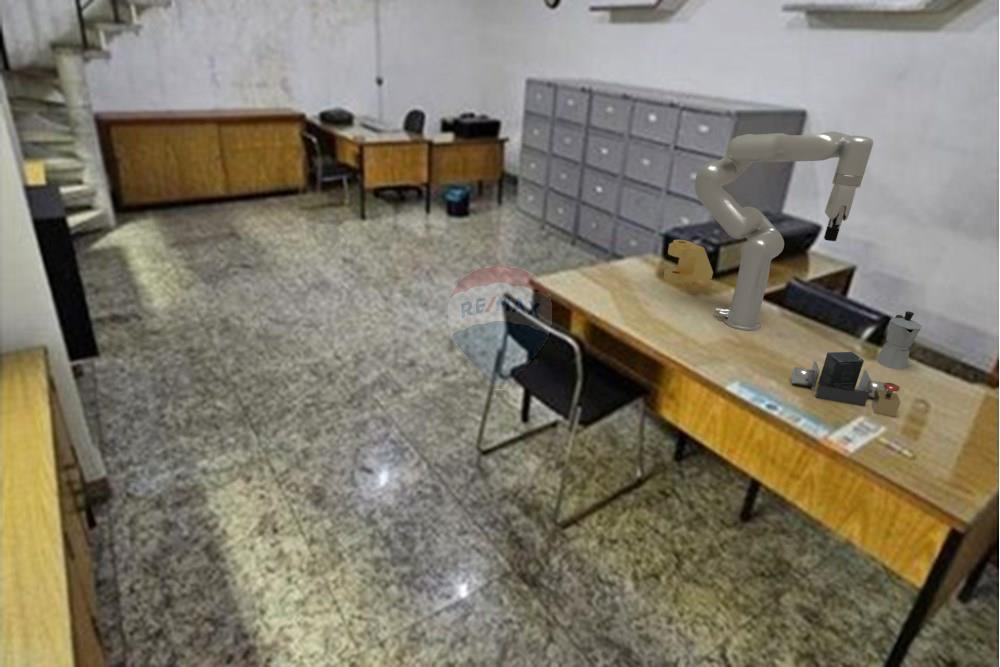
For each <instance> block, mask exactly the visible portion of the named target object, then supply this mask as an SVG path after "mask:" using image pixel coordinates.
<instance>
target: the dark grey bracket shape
mask: <svg viewBox="0 0 1000 667" xmlns="http://www.w3.org/2000/svg"><path fill="white" fill-rule="evenodd" d="M820 374H821V372H820V368H819V366H818V362H817V361H813V364H812V367H811V369H809V368H802V367H797V366H794V367H793V369H792V371H791V377H790V383H791V384H792V385H798V386H799V385H800V386H804V387H809V388H810V390H811V392H814V391H815V388H816V385H817V383H818V380H819V377H820V376H819V375H820ZM885 383H886V382H883V381H882V382H880V381H875V380H872V379H871V376H870V375H869V373H868V371H867V370H865V369H864V370H863V372H862V375H861V377H860V380H859V383H858V386H857V389H849V388H843V387H838V386H832V385H827V384H821V383H819V384H818V385H817V388H816V392H815V394H814V395H815V396H814V397H815V398H816V399H821V400H827V401H831V402H832V401H833V402H837V403H842V404H843V403H844V404H849V405H854V406H855V405H856V406H860V407H861V406H862V407H866V404H867V401H868V398H870V399H873V398H874V395H875V393H876V390H877V389H878V390H882V391H888V389H886V388H885V387H884V384H885Z"/></svg>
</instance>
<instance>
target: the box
mask: <svg viewBox="0 0 1000 667" xmlns="http://www.w3.org/2000/svg"><path fill="white" fill-rule="evenodd" d="M864 361H865V360H864V359H863V358H861V357H860V356H859V355H857V354H856V353H855V352H852V351H836V352H835V351H834V352H832V351H831V352H827V353H826V357H825V360H824V363H823V366H822V370H821V372H820V376H819V378H818V381H817V384H818V385H819V383H821V384H827V385H832V386H838V387H843V388H849V389H854V390H856V387H857V383H858V380H859V376H860V374H861V372H862V367H863V365H864Z"/></svg>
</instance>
